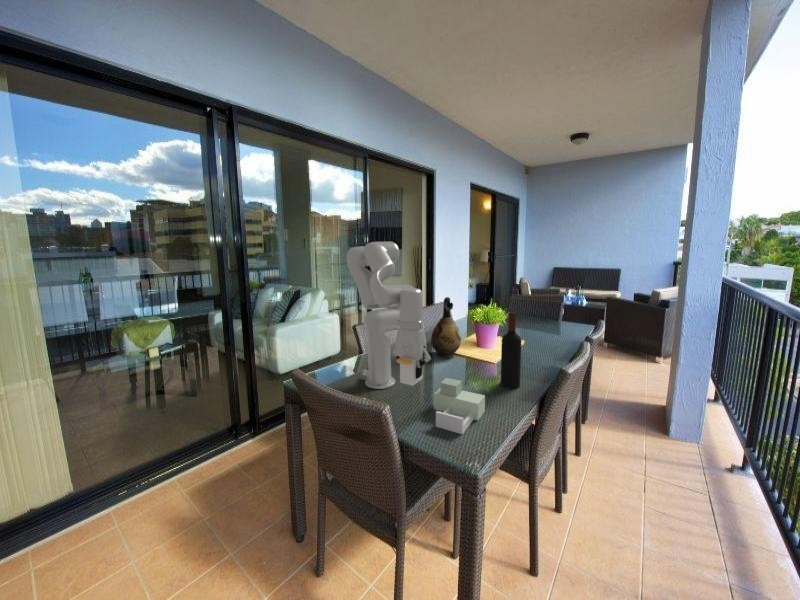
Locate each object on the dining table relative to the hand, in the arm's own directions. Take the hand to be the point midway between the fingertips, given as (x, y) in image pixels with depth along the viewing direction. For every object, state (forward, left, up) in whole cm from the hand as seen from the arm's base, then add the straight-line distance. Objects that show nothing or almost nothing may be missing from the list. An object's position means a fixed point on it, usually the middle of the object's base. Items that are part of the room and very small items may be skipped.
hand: (411, 374), depth 118 cm
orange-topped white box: (0, 0, -2) cm, 2 cm away
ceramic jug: (-14, +61, -13) cm, 64 cm away
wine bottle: (+25, +38, -13) cm, 47 cm away
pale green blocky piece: (+15, +4, -13) cm, 20 cm away
